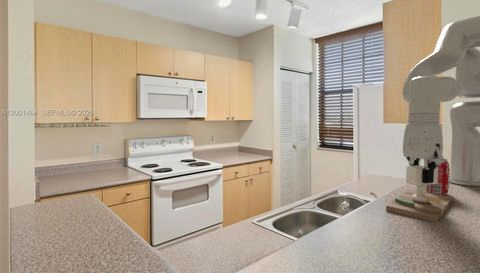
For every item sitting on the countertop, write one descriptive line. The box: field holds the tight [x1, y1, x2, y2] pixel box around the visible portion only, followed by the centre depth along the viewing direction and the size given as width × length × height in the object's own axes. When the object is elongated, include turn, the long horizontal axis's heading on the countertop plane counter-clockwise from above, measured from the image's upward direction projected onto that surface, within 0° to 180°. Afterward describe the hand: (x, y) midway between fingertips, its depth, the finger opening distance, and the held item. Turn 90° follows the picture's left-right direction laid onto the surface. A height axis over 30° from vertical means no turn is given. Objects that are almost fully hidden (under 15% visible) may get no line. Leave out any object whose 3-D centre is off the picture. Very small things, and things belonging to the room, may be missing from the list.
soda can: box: [426, 158, 450, 196], centre depth 92 cm, size 7×7×12 cm
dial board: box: [385, 189, 454, 223], centre depth 80 cm, size 22×12×2 cm, turn 133°
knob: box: [405, 164, 443, 204], centre depth 77 cm, size 9×7×10 cm
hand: (421, 180), depth 79 cm, fingers closed on knob, 3 cm apart
